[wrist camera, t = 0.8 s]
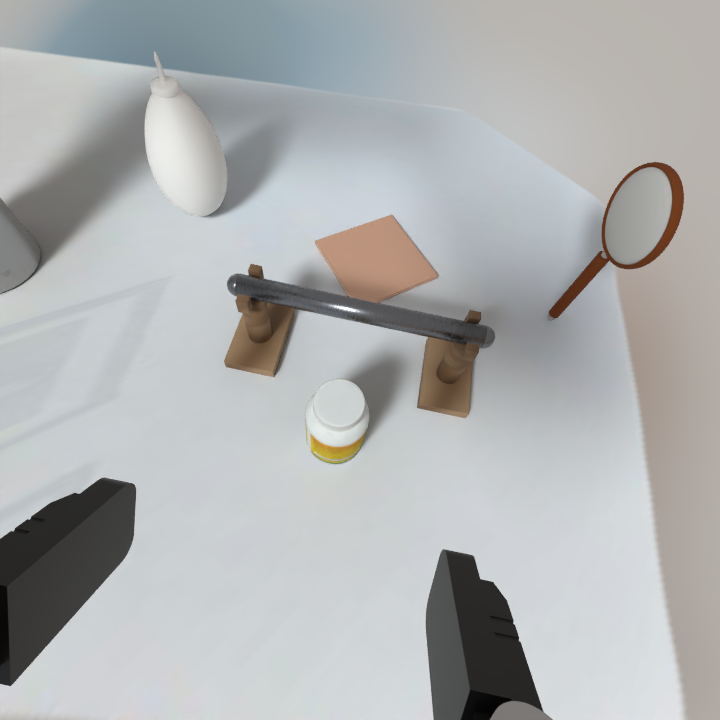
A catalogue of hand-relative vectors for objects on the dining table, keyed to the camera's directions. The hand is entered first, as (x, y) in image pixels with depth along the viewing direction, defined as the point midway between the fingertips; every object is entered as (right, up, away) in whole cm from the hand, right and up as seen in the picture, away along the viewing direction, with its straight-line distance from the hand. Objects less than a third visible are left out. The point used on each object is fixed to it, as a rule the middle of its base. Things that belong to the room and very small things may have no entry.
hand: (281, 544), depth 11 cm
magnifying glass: (+24, +10, +39) cm, 47 cm away
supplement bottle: (0, -3, +30) cm, 30 cm away
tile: (+4, +17, +41) cm, 44 cm away
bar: (+2, +9, +26) cm, 28 cm away
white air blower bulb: (-18, +24, +43) cm, 52 cm away
